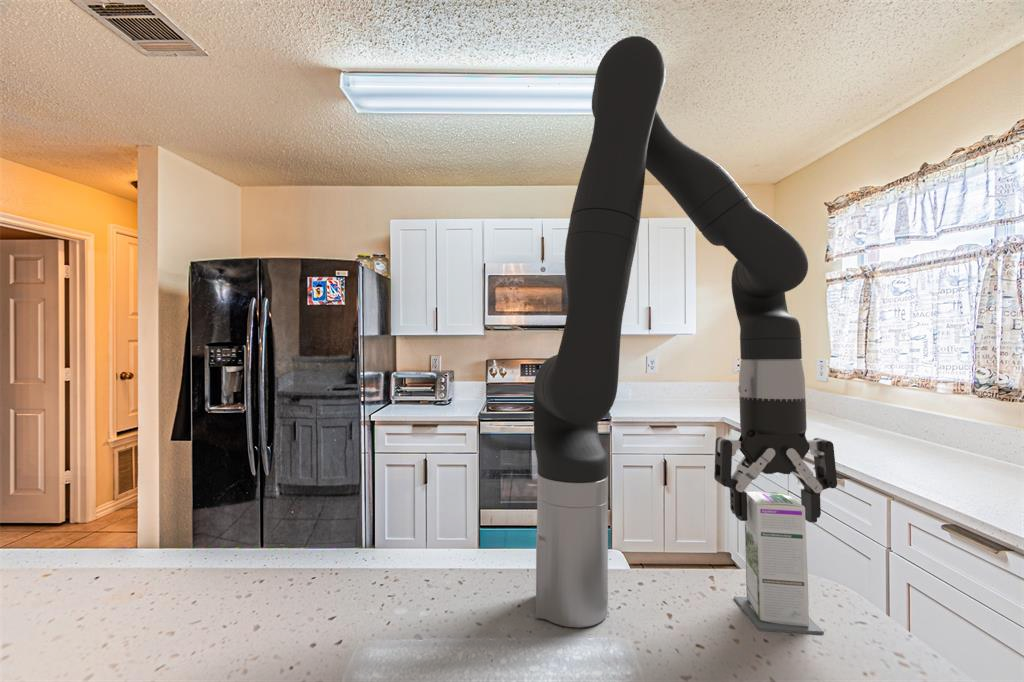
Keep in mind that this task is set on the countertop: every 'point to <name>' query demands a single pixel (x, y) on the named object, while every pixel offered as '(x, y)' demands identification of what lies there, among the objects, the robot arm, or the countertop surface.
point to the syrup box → (776, 558)
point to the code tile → (776, 627)
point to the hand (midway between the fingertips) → (775, 519)
